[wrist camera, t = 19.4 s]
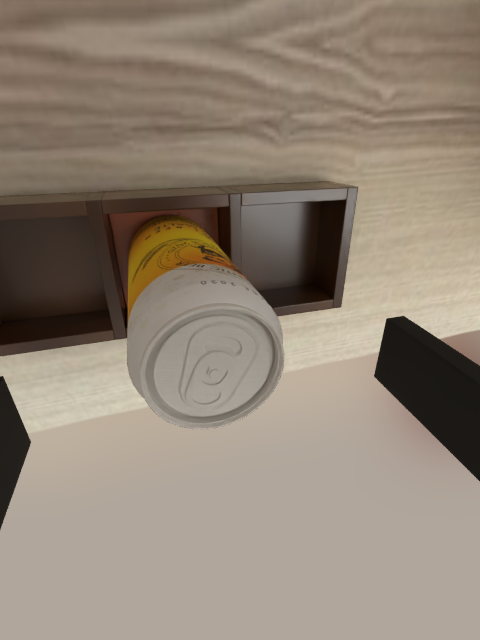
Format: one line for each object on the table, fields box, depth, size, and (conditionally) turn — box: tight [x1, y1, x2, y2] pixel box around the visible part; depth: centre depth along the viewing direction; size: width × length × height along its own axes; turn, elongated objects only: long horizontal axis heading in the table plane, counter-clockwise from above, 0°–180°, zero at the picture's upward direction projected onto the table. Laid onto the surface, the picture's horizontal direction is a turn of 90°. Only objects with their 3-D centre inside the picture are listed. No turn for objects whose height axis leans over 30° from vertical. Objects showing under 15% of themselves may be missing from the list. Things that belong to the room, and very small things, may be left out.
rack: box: [0, 181, 358, 356], centre depth 24 cm, size 26×9×4 cm, turn 92°
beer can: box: [127, 215, 284, 429], centre depth 19 cm, size 6×6×15 cm
